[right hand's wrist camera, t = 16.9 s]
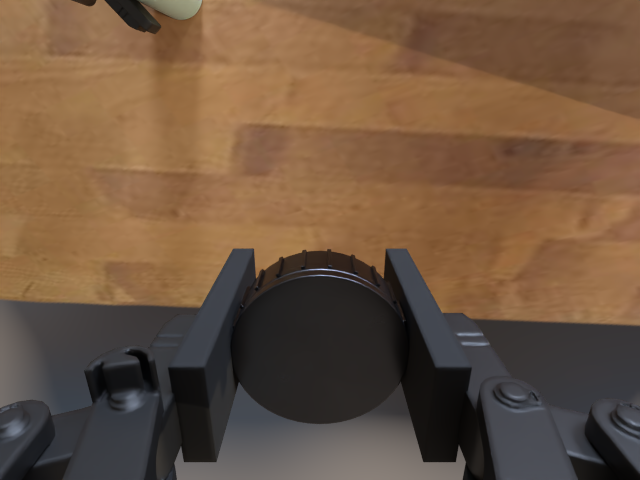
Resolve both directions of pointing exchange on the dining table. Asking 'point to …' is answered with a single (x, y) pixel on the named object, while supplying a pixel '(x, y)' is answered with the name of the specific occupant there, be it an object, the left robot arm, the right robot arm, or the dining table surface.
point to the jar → (175, 7)
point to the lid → (319, 338)
